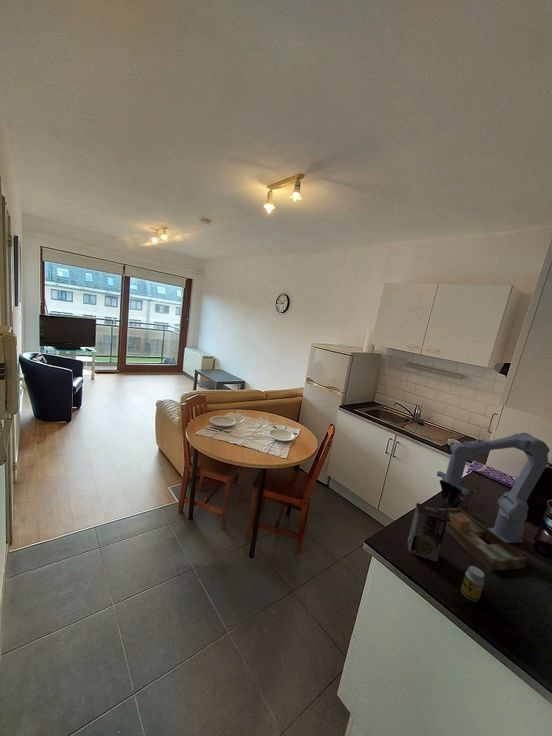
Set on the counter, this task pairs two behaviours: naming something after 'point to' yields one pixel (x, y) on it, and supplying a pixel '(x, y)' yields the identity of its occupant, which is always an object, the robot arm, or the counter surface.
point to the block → (460, 522)
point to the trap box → (484, 544)
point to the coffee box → (427, 532)
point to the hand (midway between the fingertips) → (447, 499)
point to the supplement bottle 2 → (473, 583)
